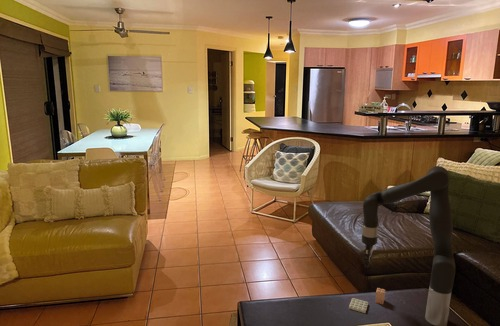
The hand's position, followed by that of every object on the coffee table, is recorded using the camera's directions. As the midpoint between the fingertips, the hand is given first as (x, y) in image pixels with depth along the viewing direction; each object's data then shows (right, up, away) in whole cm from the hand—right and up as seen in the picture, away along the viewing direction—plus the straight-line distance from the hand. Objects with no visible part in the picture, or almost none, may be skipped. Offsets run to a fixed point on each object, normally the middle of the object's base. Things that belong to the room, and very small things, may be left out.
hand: (367, 263), depth 183 cm
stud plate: (-5, -22, -1) cm, 22 cm away
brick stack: (+7, -21, +3) cm, 22 cm away
